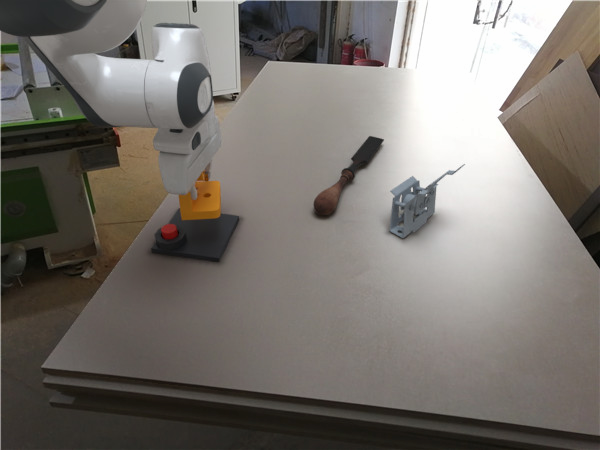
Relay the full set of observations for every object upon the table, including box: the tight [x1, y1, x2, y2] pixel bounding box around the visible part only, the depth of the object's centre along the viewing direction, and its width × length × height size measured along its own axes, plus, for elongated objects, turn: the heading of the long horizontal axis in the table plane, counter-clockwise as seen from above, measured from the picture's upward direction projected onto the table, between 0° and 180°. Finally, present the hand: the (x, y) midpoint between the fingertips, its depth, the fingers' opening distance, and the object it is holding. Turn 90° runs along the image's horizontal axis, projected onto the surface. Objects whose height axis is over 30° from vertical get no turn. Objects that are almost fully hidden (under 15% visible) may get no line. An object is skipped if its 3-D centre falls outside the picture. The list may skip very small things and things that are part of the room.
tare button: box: [160, 223, 178, 240], centre depth 81 cm, size 3×3×2 cm
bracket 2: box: [388, 163, 466, 239], centre depth 86 cm, size 13×10×15 cm
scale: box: [150, 207, 240, 263], centre depth 85 cm, size 14×14×3 cm
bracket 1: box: [178, 171, 222, 220], centre depth 79 cm, size 11×7×12 cm, turn 8°
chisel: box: [313, 135, 385, 216], centre depth 105 cm, size 5×43×5 cm, turn 154°
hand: (199, 188), depth 80 cm, fingers closed on bracket 1, 5 cm apart
